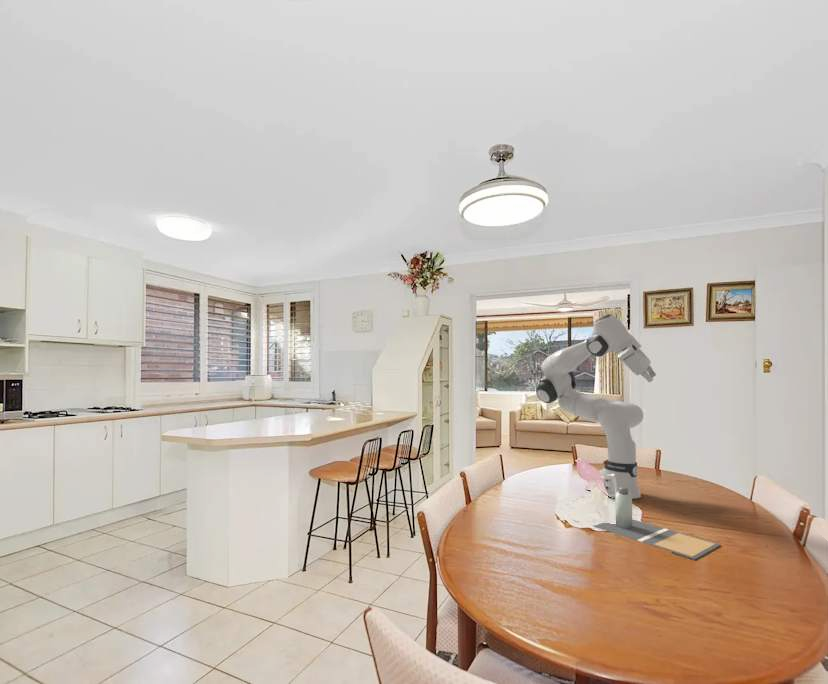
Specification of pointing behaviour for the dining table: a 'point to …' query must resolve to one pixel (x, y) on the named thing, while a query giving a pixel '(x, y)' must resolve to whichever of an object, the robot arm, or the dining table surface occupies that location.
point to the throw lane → (663, 539)
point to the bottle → (623, 508)
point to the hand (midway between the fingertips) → (652, 378)
